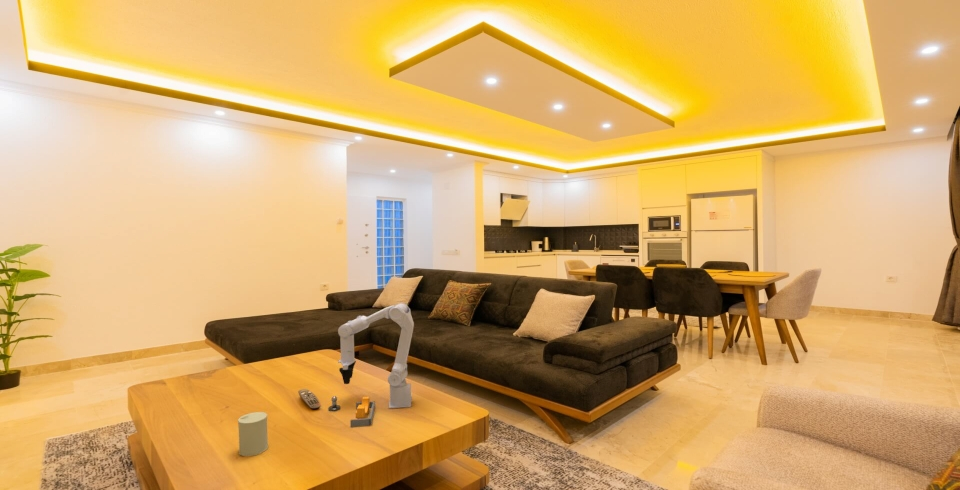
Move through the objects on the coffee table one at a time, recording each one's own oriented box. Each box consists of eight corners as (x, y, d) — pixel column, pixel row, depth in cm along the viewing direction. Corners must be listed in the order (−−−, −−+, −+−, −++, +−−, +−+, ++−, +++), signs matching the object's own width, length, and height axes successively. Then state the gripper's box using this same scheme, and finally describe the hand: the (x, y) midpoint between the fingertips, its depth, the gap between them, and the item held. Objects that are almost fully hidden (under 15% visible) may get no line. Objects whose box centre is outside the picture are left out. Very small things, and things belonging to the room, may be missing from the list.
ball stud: (341, 406, 190) (341, 393, 190) (339, 411, 185) (339, 398, 185) (329, 407, 189) (329, 394, 189) (327, 411, 184) (327, 399, 184)
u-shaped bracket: (375, 407, 188) (374, 401, 188) (371, 425, 171) (371, 418, 171) (356, 408, 187) (356, 402, 187) (350, 427, 170) (350, 420, 170)
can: (246, 443, 157) (245, 411, 157) (272, 442, 158) (271, 409, 158) (233, 457, 148) (232, 422, 148) (262, 455, 149) (260, 421, 148)
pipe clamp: (359, 412, 184) (358, 397, 184) (369, 411, 184) (369, 396, 184) (352, 424, 172) (352, 408, 172) (363, 424, 172) (363, 408, 172)
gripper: (340, 346, 199) (341, 375, 200) (335, 355, 185) (335, 387, 186) (356, 345, 200) (357, 374, 201) (352, 354, 186) (353, 386, 187)
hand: (348, 380), depth 193 cm, fingers open, 7 cm apart
